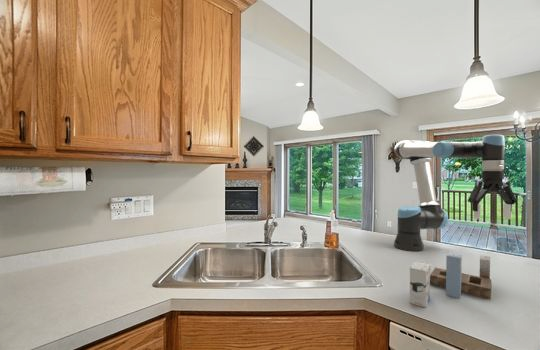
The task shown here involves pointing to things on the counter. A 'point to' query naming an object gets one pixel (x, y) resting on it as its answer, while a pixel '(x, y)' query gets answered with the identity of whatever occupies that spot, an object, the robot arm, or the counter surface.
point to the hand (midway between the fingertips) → (491, 218)
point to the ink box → (420, 284)
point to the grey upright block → (485, 267)
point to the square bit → (453, 275)
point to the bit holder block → (464, 283)
